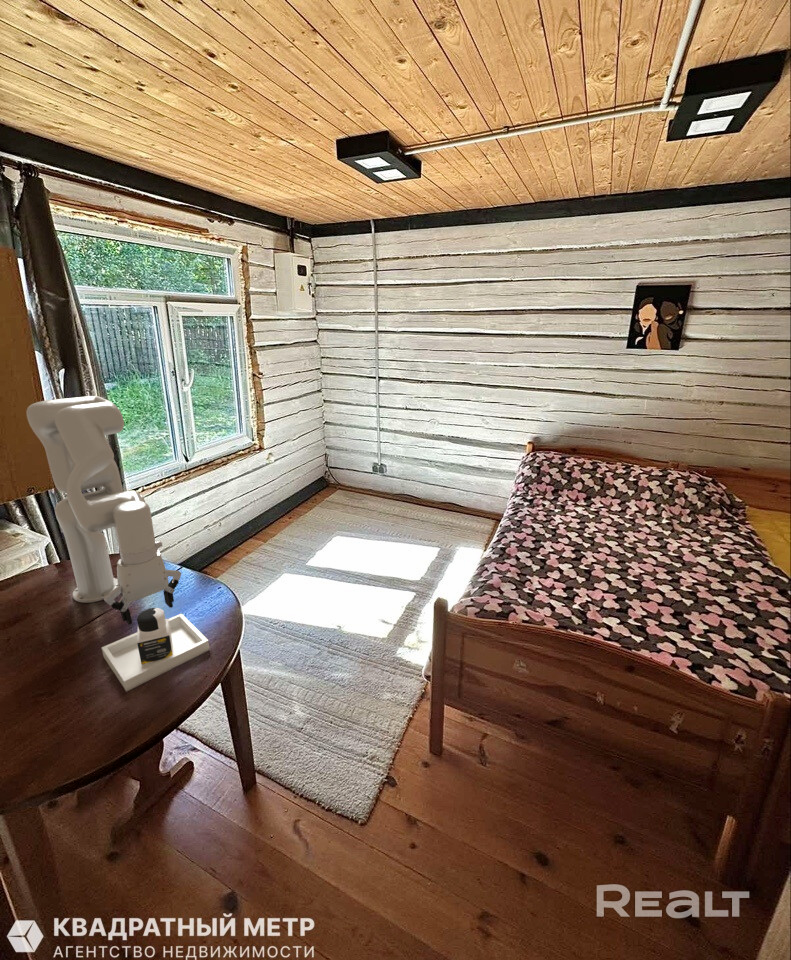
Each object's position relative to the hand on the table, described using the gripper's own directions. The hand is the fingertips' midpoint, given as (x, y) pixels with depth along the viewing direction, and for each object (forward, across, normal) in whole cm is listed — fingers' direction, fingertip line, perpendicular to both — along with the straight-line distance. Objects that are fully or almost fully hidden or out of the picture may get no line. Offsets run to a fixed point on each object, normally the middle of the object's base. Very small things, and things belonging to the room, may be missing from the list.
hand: (149, 613), depth 116 cm
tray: (+12, 0, +1) cm, 12 cm away
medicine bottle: (+12, 0, +1) cm, 12 cm away
